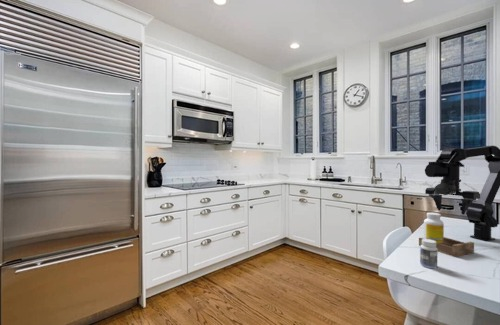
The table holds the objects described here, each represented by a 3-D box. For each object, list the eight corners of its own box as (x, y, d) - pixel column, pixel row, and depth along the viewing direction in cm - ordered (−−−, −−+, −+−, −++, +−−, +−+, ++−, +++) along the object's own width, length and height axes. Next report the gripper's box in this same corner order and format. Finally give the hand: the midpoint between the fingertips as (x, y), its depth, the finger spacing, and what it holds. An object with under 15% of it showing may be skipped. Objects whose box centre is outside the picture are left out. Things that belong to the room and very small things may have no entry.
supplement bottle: (447, 248, 101) (447, 215, 101) (428, 246, 103) (428, 215, 103) (438, 242, 108) (438, 212, 108) (420, 241, 109) (420, 211, 109)
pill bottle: (416, 263, 87) (416, 238, 87) (429, 262, 88) (429, 238, 88) (427, 269, 83) (427, 243, 82) (441, 268, 83) (441, 242, 83)
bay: (435, 241, 110) (435, 232, 110) (473, 253, 96) (474, 242, 96) (417, 244, 106) (417, 235, 106) (454, 256, 93) (454, 245, 93)
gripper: (418, 176, 118) (417, 210, 118) (466, 179, 101) (466, 218, 101) (432, 175, 122) (432, 208, 123) (481, 178, 105) (480, 216, 106)
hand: (450, 212), depth 113 cm, fingers open, 9 cm apart
